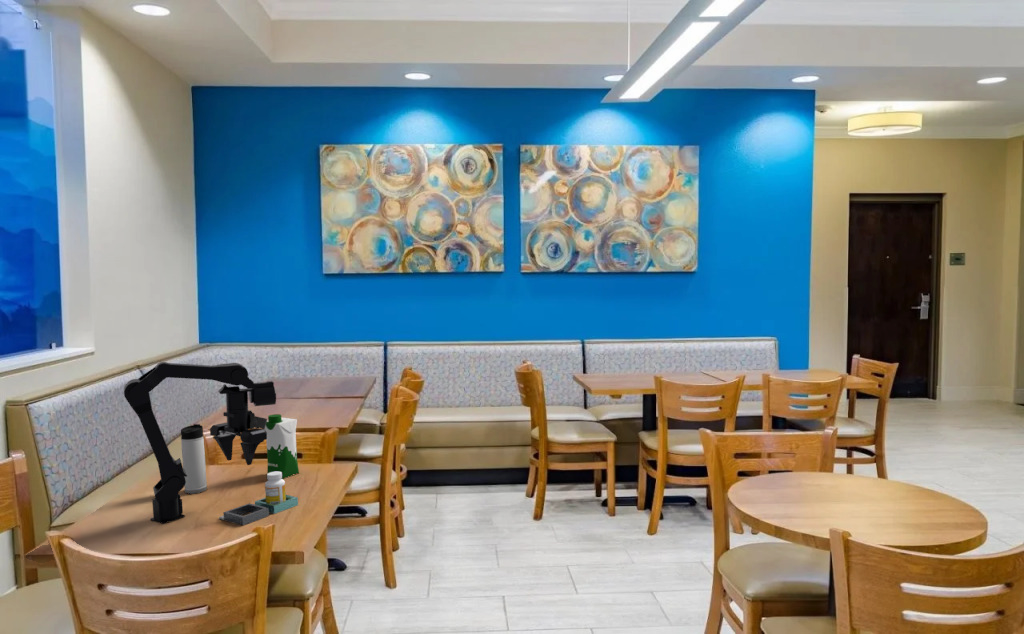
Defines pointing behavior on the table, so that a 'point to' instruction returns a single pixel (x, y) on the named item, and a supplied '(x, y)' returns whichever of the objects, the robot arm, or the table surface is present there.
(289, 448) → the milk carton
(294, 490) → the table surface
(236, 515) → the grey and teal tray
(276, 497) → the supplement bottle
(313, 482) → the table surface
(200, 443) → the travel mug
